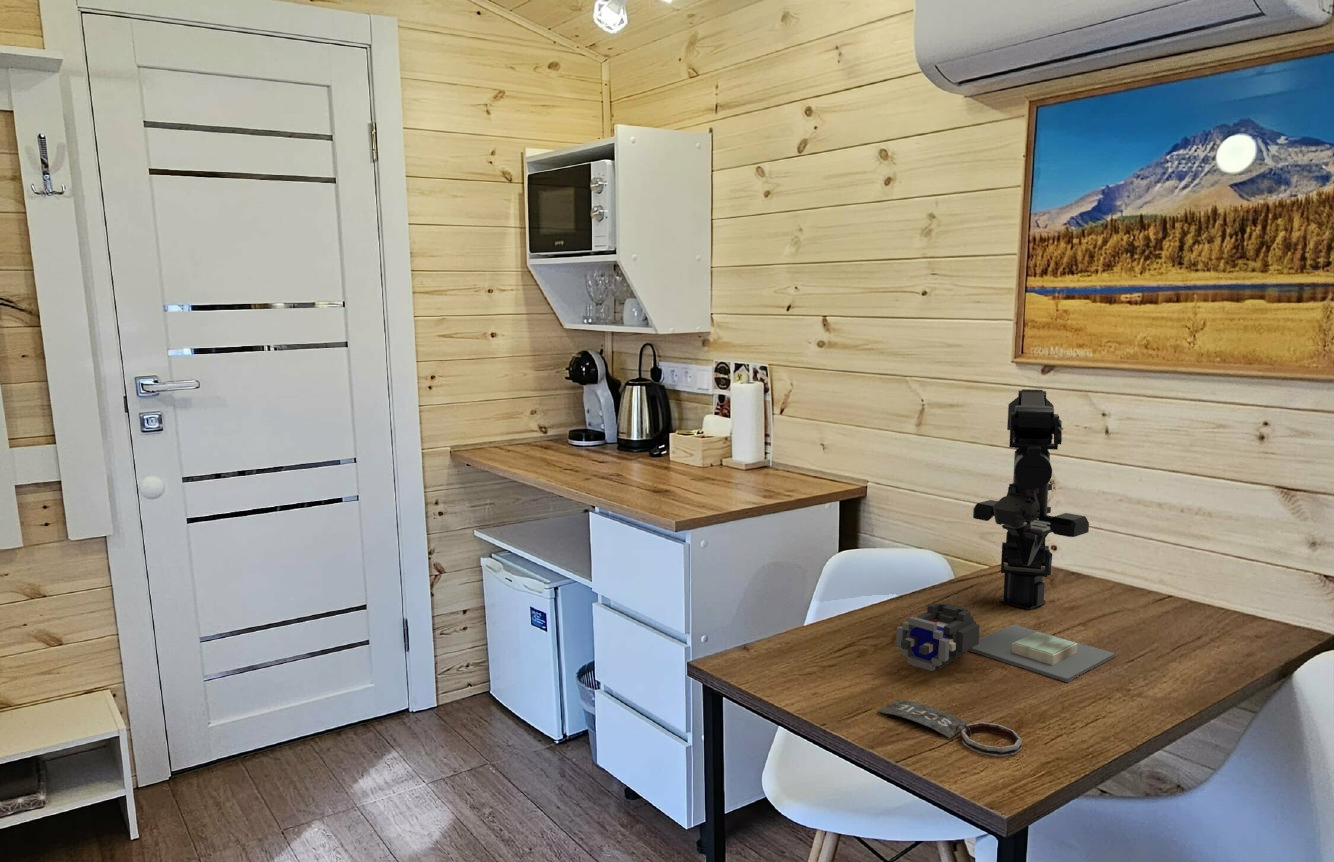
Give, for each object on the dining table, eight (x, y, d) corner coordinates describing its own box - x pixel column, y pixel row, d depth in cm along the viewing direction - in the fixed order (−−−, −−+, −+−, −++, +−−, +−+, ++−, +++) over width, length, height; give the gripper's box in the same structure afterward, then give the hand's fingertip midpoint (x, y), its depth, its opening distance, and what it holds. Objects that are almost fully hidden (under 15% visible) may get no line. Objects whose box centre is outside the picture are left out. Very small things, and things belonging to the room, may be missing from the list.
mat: (962, 648, 149) (962, 645, 149) (1012, 627, 159) (1013, 624, 159) (1067, 682, 135) (1067, 678, 135) (1114, 656, 145) (1115, 653, 145)
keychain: (902, 701, 130) (903, 688, 130) (1032, 746, 117) (1032, 731, 116) (874, 718, 125) (874, 705, 124) (1005, 767, 111) (1006, 752, 111)
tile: (1037, 631, 151) (1077, 642, 145) (1036, 641, 151) (1077, 653, 145) (1012, 642, 146) (1053, 654, 140) (1011, 652, 146) (1052, 665, 140)
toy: (889, 617, 140) (938, 596, 150) (888, 669, 141) (936, 645, 151) (939, 631, 133) (986, 608, 144) (937, 685, 135) (984, 659, 145)
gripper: (957, 476, 156) (954, 562, 158) (1060, 492, 142) (1055, 586, 144) (991, 469, 163) (988, 551, 165) (1092, 483, 149) (1087, 573, 151)
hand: (1026, 565), depth 156 cm, fingers closed
